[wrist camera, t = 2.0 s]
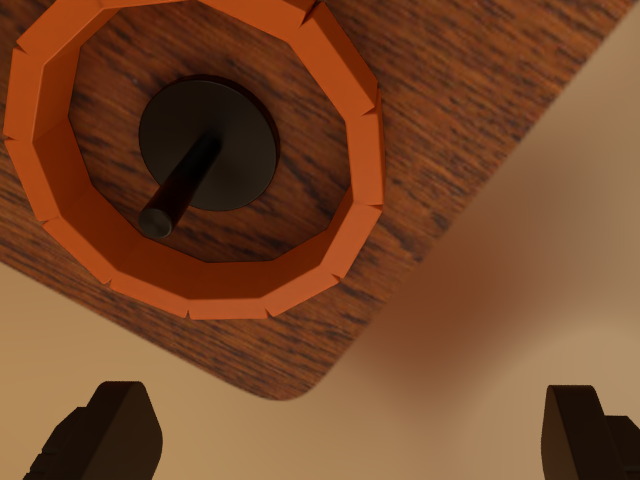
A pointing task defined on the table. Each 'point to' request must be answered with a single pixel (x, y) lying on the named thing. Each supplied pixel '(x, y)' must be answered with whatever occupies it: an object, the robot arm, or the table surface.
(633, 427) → the robot arm
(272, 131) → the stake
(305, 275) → the hoop
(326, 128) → the table surface
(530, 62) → the table surface
